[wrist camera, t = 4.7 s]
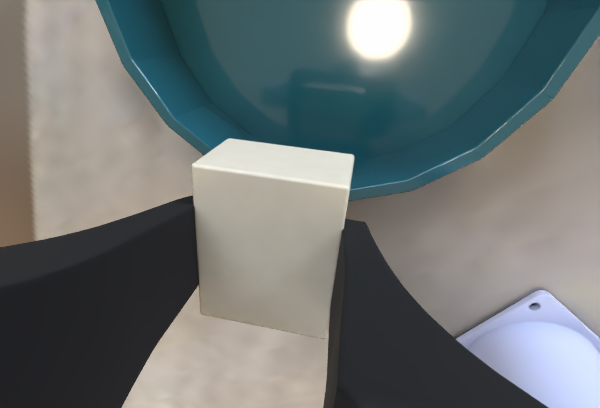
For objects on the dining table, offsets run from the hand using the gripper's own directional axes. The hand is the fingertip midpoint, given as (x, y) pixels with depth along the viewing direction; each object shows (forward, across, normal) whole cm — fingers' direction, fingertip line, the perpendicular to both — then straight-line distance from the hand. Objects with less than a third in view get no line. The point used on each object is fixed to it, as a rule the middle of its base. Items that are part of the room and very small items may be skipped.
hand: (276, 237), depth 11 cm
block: (+1, 0, 0) cm, 1 cm away
